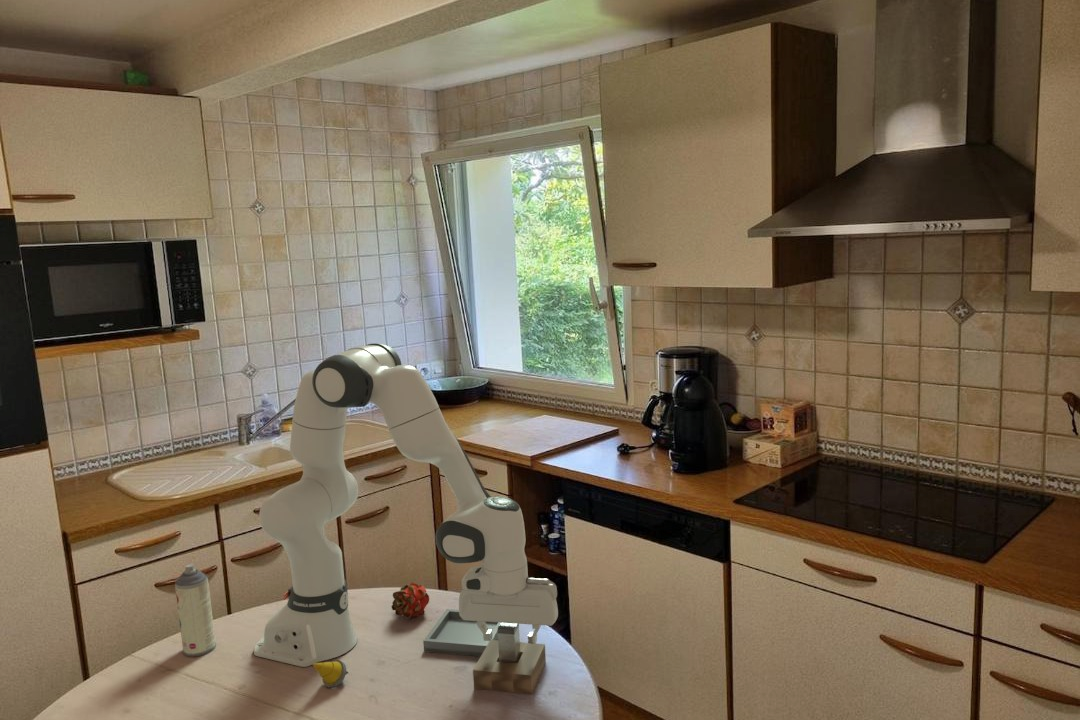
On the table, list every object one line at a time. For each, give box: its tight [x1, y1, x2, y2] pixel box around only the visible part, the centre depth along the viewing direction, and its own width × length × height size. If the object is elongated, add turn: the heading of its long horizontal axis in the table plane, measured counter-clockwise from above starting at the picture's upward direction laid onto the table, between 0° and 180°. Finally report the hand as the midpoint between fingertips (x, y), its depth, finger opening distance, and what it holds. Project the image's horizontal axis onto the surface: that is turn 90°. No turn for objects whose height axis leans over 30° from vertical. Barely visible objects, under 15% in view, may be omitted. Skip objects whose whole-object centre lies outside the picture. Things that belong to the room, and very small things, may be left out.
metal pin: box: [498, 623, 521, 664], centre depth 163 cm, size 4×4×11 cm
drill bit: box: [312, 659, 349, 689], centre depth 162 cm, size 5×5×10 cm
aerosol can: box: [174, 563, 217, 658], centre depth 178 cm, size 7×7×20 cm
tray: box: [422, 608, 500, 657], centre depth 180 cm, size 15×15×2 cm
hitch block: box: [472, 640, 547, 695], centre depth 163 cm, size 12×12×4 cm
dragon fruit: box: [391, 581, 430, 620], centre depth 191 cm, size 8×8×12 cm
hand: (510, 640), depth 162 cm, fingers open, 8 cm apart
